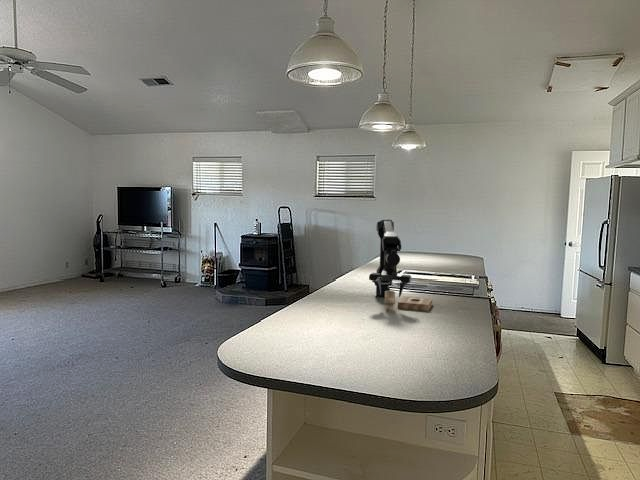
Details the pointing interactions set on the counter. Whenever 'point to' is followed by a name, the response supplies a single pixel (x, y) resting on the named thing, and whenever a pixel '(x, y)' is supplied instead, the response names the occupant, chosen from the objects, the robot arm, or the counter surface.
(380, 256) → the robot arm
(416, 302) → the seat block
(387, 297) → the peg
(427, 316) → the counter surface
